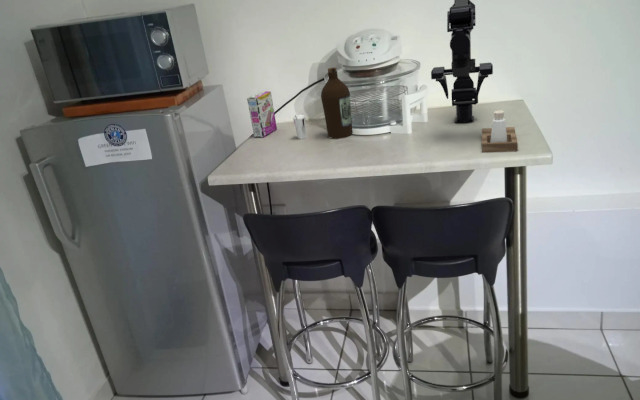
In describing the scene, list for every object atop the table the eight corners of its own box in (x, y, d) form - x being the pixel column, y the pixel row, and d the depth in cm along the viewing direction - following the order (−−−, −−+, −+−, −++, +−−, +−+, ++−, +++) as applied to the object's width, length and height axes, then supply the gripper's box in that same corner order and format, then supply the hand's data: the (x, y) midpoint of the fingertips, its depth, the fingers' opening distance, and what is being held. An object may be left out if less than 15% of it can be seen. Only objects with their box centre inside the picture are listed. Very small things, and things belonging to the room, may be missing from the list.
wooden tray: (481, 135, 162) (481, 128, 161) (514, 134, 159) (514, 126, 158) (481, 152, 148) (481, 144, 147) (517, 151, 145) (517, 143, 144)
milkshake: (293, 140, 187) (289, 115, 183) (299, 136, 192) (295, 111, 188) (304, 140, 186) (300, 114, 182) (309, 135, 190) (305, 110, 186)
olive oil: (321, 138, 185) (311, 71, 175) (336, 129, 193) (328, 65, 183) (344, 140, 179) (336, 71, 169) (359, 131, 187) (352, 64, 176)
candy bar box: (264, 137, 197) (256, 97, 190) (254, 137, 199) (245, 98, 192) (278, 129, 206) (271, 90, 199) (268, 129, 208) (260, 91, 201)
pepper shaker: (486, 147, 151) (486, 113, 147) (494, 142, 155) (494, 108, 150) (503, 149, 148) (503, 114, 143) (511, 144, 151) (511, 109, 147)
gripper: (428, 55, 149) (430, 105, 155) (493, 49, 143) (493, 101, 150) (431, 49, 159) (433, 97, 165) (492, 43, 153) (492, 93, 159)
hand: (462, 97), depth 159 cm, fingers open, 9 cm apart
